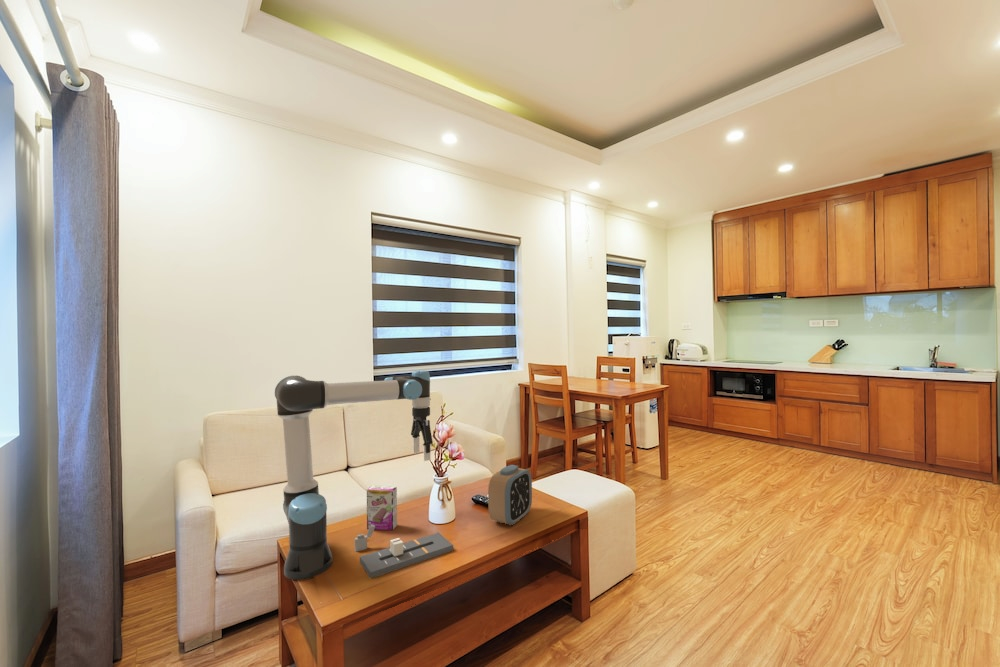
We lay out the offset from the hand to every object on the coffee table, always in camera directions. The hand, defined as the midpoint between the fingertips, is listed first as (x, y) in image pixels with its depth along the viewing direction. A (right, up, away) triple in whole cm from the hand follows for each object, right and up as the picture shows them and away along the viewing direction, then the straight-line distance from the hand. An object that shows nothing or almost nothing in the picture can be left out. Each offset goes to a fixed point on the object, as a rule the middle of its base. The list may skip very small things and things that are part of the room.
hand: (421, 456), depth 180 cm
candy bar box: (-14, -27, -9) cm, 32 cm away
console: (+1, -26, -31) cm, 41 cm away
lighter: (-16, -27, -25) cm, 40 cm away
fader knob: (-2, -27, -33) cm, 42 cm away
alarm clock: (+38, -26, -3) cm, 47 cm away
